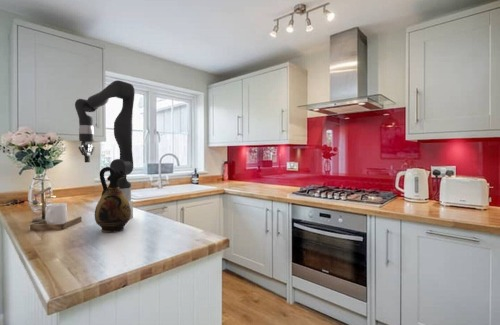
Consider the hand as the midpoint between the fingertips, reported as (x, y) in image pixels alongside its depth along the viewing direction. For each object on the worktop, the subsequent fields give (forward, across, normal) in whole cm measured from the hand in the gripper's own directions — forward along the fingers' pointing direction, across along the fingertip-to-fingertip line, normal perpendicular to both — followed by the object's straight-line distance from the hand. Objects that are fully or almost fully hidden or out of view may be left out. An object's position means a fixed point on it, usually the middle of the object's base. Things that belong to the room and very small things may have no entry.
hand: (87, 162), depth 157 cm
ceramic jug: (+31, -35, -30) cm, 56 cm away
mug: (+31, -26, +2) cm, 41 cm away
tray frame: (+31, -26, +1) cm, 40 cm away
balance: (+31, -14, +16) cm, 38 cm away
